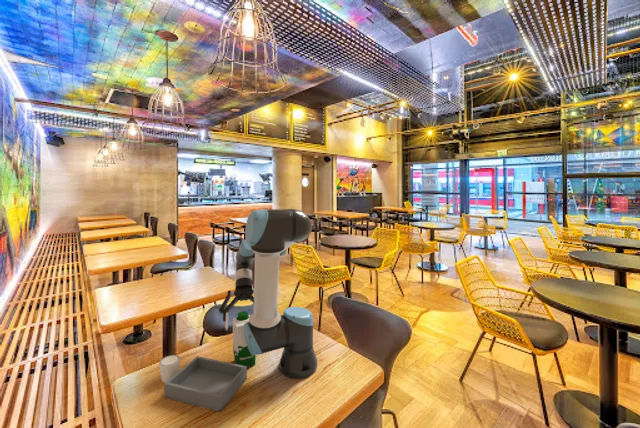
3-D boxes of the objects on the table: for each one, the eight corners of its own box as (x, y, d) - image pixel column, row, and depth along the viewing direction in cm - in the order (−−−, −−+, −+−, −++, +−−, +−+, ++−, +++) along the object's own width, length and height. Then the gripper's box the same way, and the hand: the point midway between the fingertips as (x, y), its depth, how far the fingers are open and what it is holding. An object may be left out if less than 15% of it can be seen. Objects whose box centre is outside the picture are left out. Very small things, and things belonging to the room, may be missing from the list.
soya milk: (252, 353, 118) (252, 309, 117) (258, 365, 110) (257, 318, 109) (231, 359, 114) (230, 313, 112) (236, 372, 106) (234, 322, 105)
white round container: (157, 385, 99) (156, 367, 98) (162, 373, 105) (161, 356, 105) (178, 382, 101) (177, 364, 100) (182, 370, 107) (181, 353, 107)
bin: (246, 378, 103) (246, 366, 102) (220, 412, 87) (220, 397, 87) (197, 368, 109) (197, 356, 108) (164, 397, 93) (164, 383, 93)
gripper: (270, 282, 133) (273, 326, 120) (216, 286, 127) (212, 333, 114) (271, 274, 127) (274, 320, 114) (214, 278, 121) (210, 327, 108)
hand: (243, 327), depth 114 cm, fingers open, 13 cm apart
